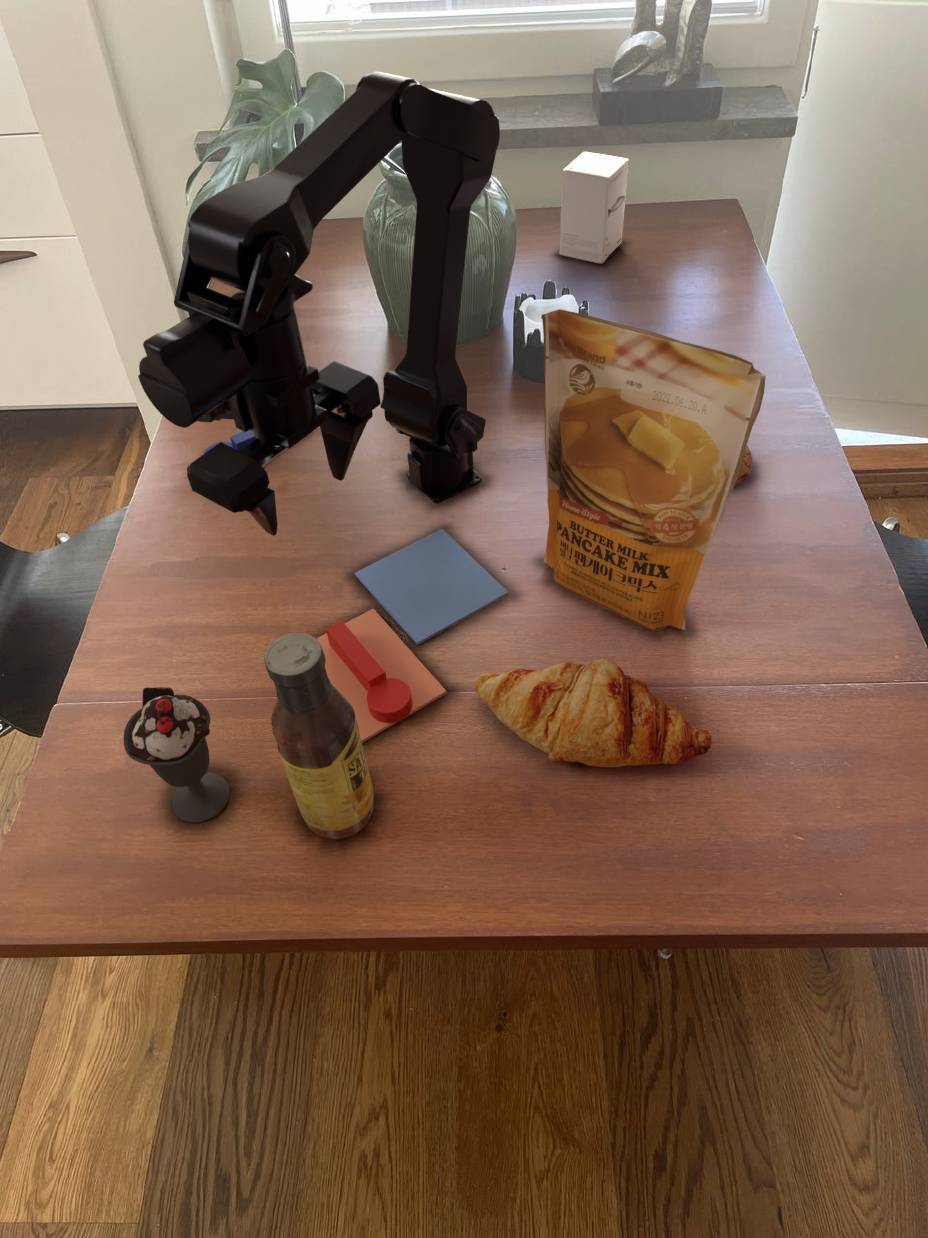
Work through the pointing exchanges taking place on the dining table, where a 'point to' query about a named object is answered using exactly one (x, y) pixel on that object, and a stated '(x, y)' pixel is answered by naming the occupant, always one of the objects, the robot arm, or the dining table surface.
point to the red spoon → (371, 676)
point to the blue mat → (430, 585)
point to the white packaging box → (592, 206)
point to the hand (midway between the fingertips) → (305, 505)
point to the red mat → (392, 661)
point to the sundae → (177, 751)
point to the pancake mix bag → (639, 460)
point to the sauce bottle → (318, 740)
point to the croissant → (591, 715)
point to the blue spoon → (238, 441)
